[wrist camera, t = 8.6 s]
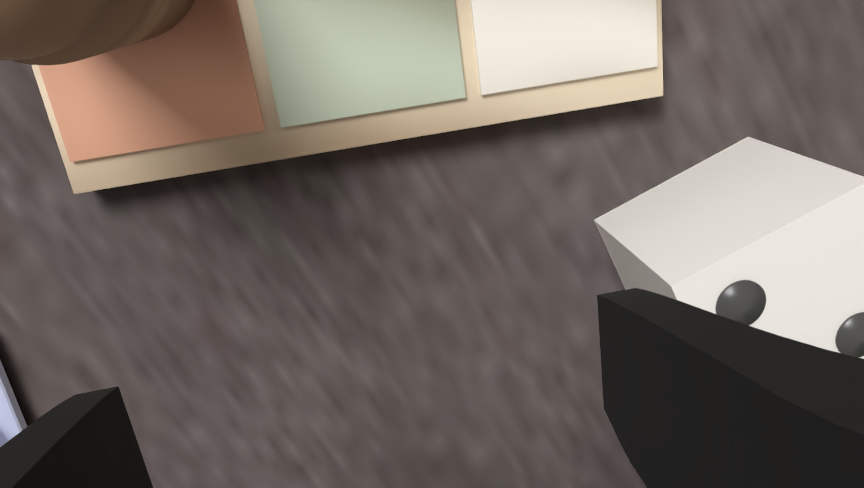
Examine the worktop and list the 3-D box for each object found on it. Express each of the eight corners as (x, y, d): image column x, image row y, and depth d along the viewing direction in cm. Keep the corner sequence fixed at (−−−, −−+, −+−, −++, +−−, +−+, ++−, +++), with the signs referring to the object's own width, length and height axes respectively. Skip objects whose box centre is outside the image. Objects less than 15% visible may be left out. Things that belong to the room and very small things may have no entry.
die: (793, 274, 22) (919, 351, 18) (652, 349, 22) (739, 445, 18) (746, 136, 20) (873, 180, 16) (592, 219, 21) (672, 286, 16)
